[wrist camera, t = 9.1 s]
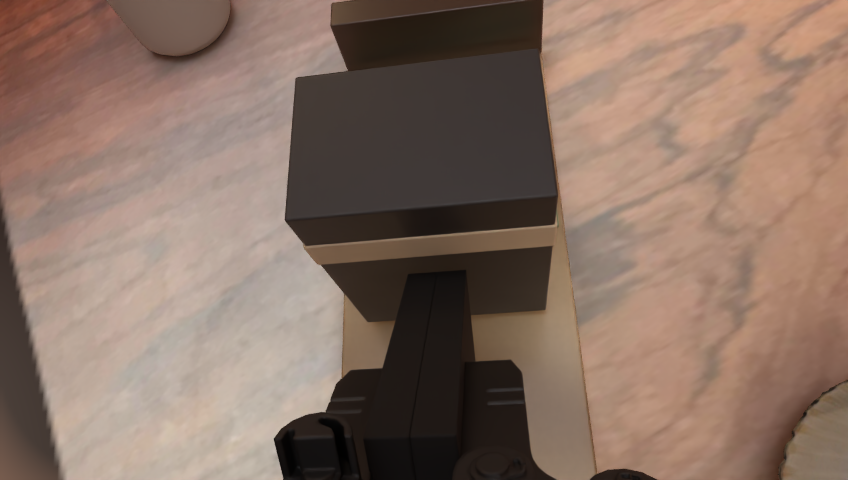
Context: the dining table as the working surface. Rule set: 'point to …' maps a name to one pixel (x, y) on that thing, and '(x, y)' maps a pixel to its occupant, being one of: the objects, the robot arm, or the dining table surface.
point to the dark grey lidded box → (427, 179)
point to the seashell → (820, 440)
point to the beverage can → (174, 23)
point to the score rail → (557, 325)
